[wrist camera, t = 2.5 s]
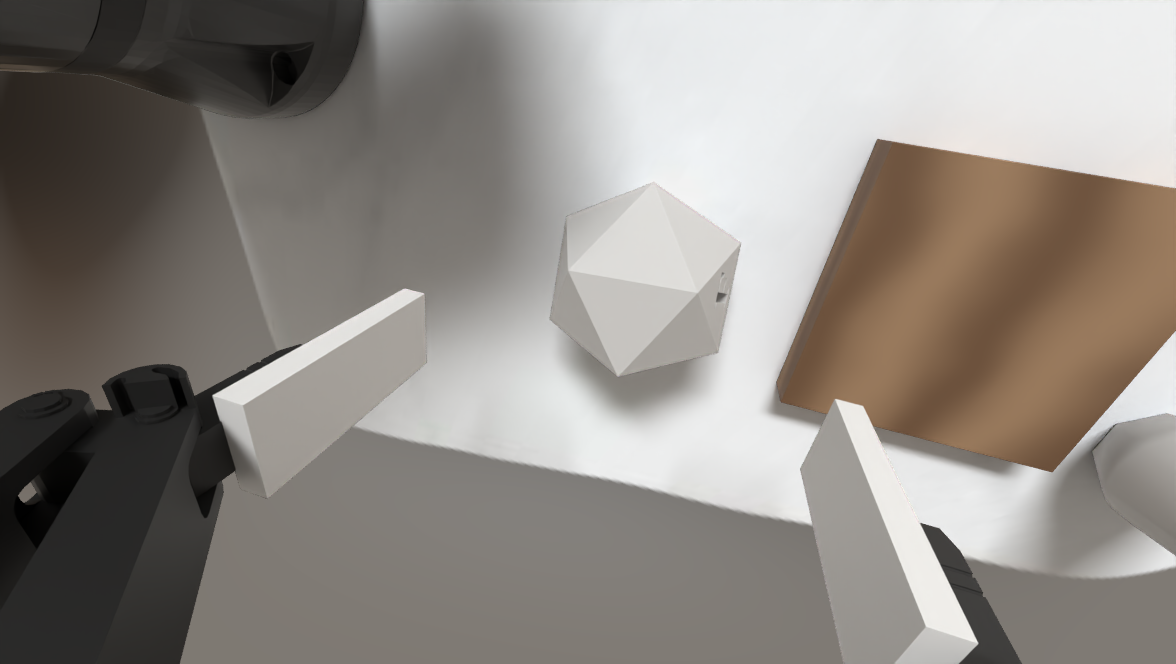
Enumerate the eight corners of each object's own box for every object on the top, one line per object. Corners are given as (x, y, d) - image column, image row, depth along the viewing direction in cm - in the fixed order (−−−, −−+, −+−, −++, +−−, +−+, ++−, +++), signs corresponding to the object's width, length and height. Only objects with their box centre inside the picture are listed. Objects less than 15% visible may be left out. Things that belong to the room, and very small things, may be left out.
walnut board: (776, 382, 26) (780, 402, 24) (877, 139, 20) (893, 142, 18) (1028, 445, 24) (1052, 472, 22) (1228, 197, 18) (1282, 207, 16)
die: (655, 353, 28) (764, 404, 19) (518, 338, 25) (571, 390, 16) (681, 219, 27) (810, 206, 18) (541, 185, 24) (612, 150, 15)
